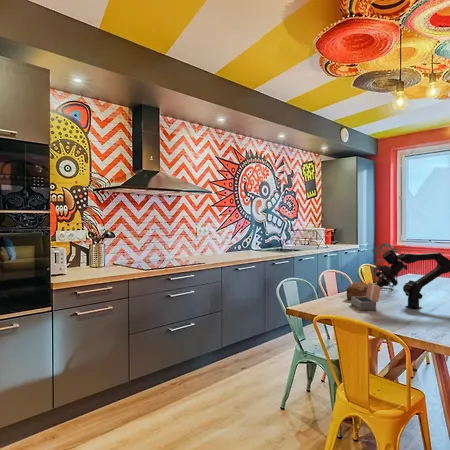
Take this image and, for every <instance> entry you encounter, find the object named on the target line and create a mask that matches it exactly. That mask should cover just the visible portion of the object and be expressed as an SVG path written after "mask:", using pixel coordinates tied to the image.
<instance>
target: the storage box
mask: <svg viewBox="0 0 450 450" xmlns="http://www.w3.org/2000/svg"><path fill="white" fill-rule="evenodd" d="M350 301H351V302H350V305H351V306H352V307H354V308H355V309H357V310H359V311H360V312H376V311H377V302H375V301H373V300H372V299H370V298H368V297H351V300H350Z"/></svg>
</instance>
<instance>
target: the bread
mask: <svg viewBox="0 0 450 450" xmlns="http://www.w3.org/2000/svg"><path fill="white" fill-rule="evenodd" d="M367 288H368V283H366V282H364V281H354V282H353V283H351V284H350V285H349V286H347V287H346V299H347V300H350V301H351V297H366V293H367Z"/></svg>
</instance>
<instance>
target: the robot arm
mask: <svg viewBox="0 0 450 450" xmlns="http://www.w3.org/2000/svg"><path fill="white" fill-rule="evenodd" d="M388 250H389V251H387V250H386V251H387V252H386V253H385V252H384V254H383V253H382V254H381V255H382V256H381V258H382V259H384V260H383V261H386V262H385V263H387V265H388V264H389V267H388V266H387V265H385V264H383V266H382V264H376V266H375V268H376V272H374V273H373V274H374V276H375V275H376V278H377V281H376V283H377V284H376V285H378V286H380V287H383V288H384V287H388V286H387V285H394V287H396V286H397V285H398V283H399V282H398V279H397V280H396V276H397V277H398V276H399V273H400V272H401V271H402V270H406V271H407V270H408V265H410V264H413V263H417V262H419V261H420V262H421V261H433V260H434V262H436V263H437V265H436V266H435V267H434V268H433V269H432V270H430V271H429V272H428V273H426V274H425V275H423V276H422V277H420V278H418V279H417V280H415V281H414V280H411V279H409V280H408V282H405V283H404V285H403V287H402V291H403V292H404V294H405V296H406V297H407V305H405V308H409V309H412V310H419V309H422V308H423V307H422V306H420V300H421V299H423V294H422V293H421V291H422V289H423V287H425V286H427V285H428V284H430V283H431V282H432V281H434V280H435V279H437V278H438V277H440V276H441V275H444V274H448V273H450V259H449V258H447V257H446V256H444V255H443V253H441V252H435V251H434V252H427V253H426V252H425V253H424V252H423V253H409V252H408V253H407V252H402V253H400V254H397V253H396V252H395V251H394V252H393V251H392V250H390V249H388ZM395 253H396V254H395ZM391 264H392V265H391ZM379 271H380V272H379ZM394 277H395V278H394ZM390 282H392V283H390ZM389 283H390V284H389Z"/></svg>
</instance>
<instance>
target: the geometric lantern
mask: <svg viewBox="0 0 450 450" xmlns="http://www.w3.org/2000/svg"><path fill="white" fill-rule="evenodd" d="M385 248H386V249H385ZM389 250H392V251H393V252H394V253H395V254H396V255H397V254H398V252H399V248H397V247H395V246H393V245H391V244H389V243H387V242H383V243H382V244H380V245H379V246H376V247H375V248H374V249H372V250H371V252H372V253H374V256H375V265H378V262H379V263H381V266H384V262H385V263H387V262H386V261H385V260H384V259H383V258H382V259H381V258H380V257H382V255H383V254H384V253H386V252H387V251H389ZM381 253H382V254H381ZM377 256H378V258H377ZM387 265H388V267H390V266H391V265H392V264H388V263H387ZM376 271H377V270H376V267H375V272H376ZM378 271H379V270H378ZM375 272H374V273H375ZM379 272H381V271H379ZM394 278H395V279H396V280H397V281H398V276H395V277H394ZM374 284H375V285H376V284H377V276H376V275H375V274H374ZM389 284H390V285H387V286H386V287H384V286H383V287H381V289H380V291H386V292H388V290H390V292H393V291H394V289H395V288H394V287H395V286H394V285H392V284H393V283H392V282H390V283H389Z"/></svg>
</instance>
